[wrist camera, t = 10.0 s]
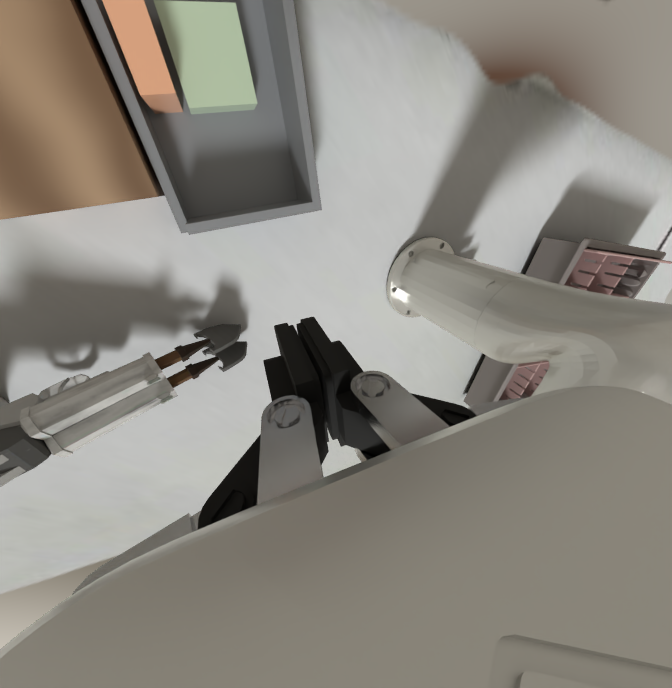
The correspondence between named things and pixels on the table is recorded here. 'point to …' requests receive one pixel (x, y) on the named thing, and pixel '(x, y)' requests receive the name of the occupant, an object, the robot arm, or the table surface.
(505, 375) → the organizer tray
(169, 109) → the tile
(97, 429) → the gun
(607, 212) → the table surface
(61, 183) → the platform
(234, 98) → the tile
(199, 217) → the box
